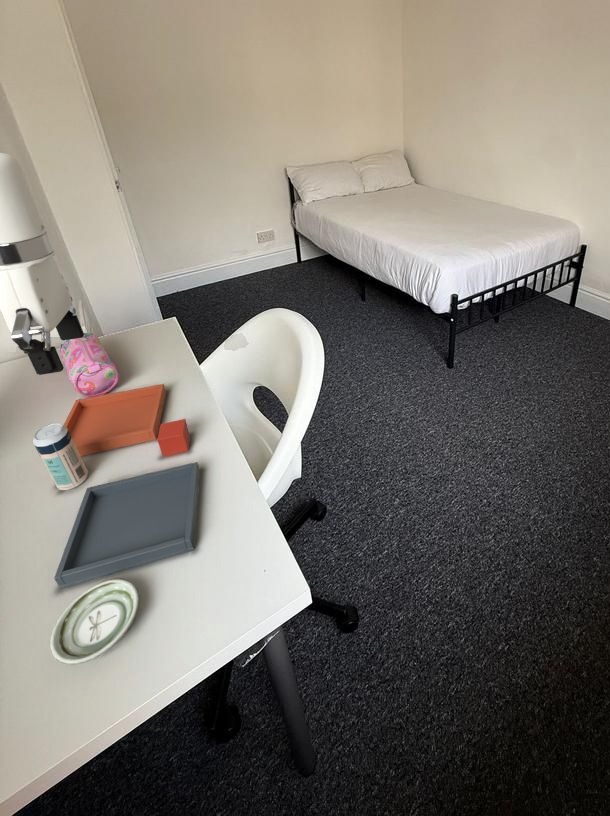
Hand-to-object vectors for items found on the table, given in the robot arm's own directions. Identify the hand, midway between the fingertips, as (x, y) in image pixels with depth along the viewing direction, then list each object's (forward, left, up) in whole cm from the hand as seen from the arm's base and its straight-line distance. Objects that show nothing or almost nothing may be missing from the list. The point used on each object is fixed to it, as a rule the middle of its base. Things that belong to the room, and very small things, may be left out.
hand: (62, 354), depth 64 cm
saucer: (+4, -27, -27) cm, 38 cm away
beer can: (-7, +1, -27) cm, 28 cm away
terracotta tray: (-3, +15, -27) cm, 30 cm away
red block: (+10, +4, -27) cm, 29 cm away
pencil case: (-12, +35, -27) cm, 45 cm away
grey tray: (+6, -12, -27) cm, 30 cm away
